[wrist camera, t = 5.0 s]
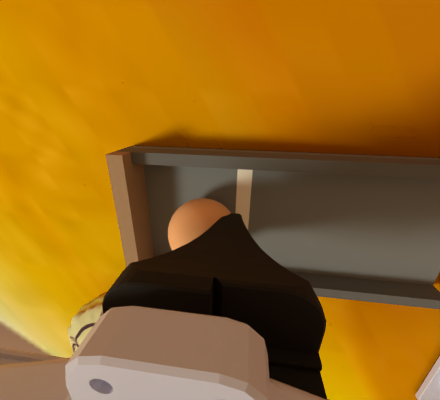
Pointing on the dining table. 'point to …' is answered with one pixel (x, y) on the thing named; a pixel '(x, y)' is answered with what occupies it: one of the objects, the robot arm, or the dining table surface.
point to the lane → (298, 213)
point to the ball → (194, 220)
